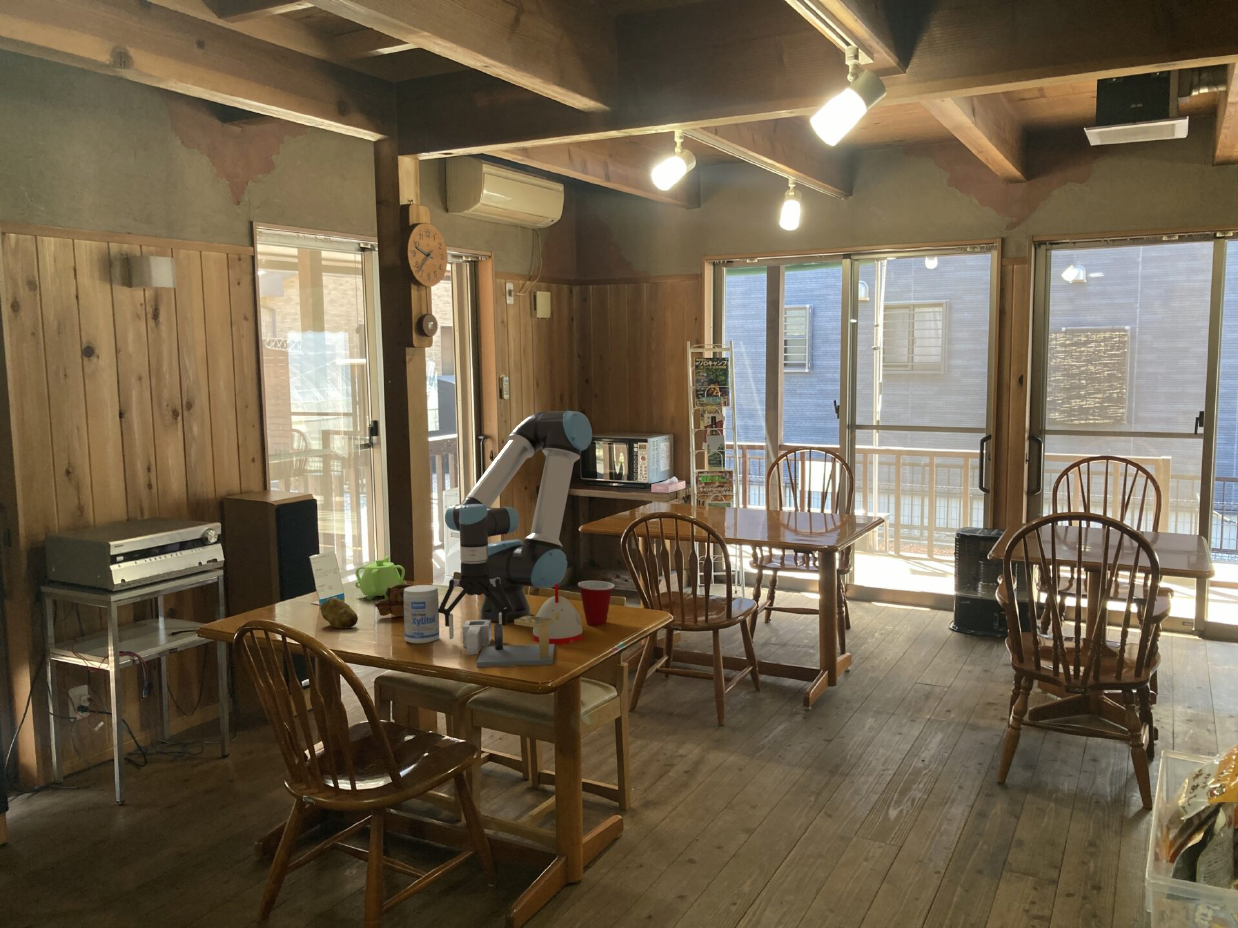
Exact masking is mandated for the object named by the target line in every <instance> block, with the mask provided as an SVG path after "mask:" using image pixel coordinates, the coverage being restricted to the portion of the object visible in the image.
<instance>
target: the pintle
mask: <svg viewBox="0 0 1238 928" xmlns="http://www.w3.org/2000/svg"><path fill="white" fill-rule="evenodd" d="M493 631H494V632H493V633H494V635H493V636H494V637H493V639H494V646H495V650H502V649H503V646H504V627H503V628H502V624H499V623H495V624H494V625H493Z"/></svg>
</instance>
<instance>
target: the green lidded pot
mask: <svg viewBox="0 0 1238 928" xmlns="http://www.w3.org/2000/svg"><path fill="white" fill-rule="evenodd" d="M389 558H390V556H389V554H388V555H387V554H386V555H385V556H384V558H383V559H381V558H379V559H375V562H373V563H370V564H366V565H361V566H359V567H357V568H356V569H355V576H356V578H357V580H358V581H356V582H355V585H354V586H355V588H356V589H360V591H361V593H362V594H363V595H364V596H367V597H366V598H365V600H366V601H367V600H370V601H371V600H374V598H375V597H377V596H381V597H383V598H384V599H388V596H387V595H386V590H387V588H388V587H390V588H391V587H393V586H395V585H397V584H408V583H407V581H406V580H404V578H405V575H406V574H405V572H406V571H405V570H406V569H405V568H404V567H403V566H402V565H399V564H397V565H395V564H394V563H393V562H391V561H390V560H389ZM389 561H390V562H389ZM361 569H362V570H363V573H362V575H360V570H361ZM398 569H400V570H401V575H400V573H399V571H398ZM384 599H383V600H384Z"/></svg>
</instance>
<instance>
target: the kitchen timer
mask: <svg viewBox="0 0 1238 928" xmlns="http://www.w3.org/2000/svg"><path fill="white" fill-rule="evenodd" d="M534 616H535V617H542V618H549V619H553V624H550V625H549V644H554V645H564V644H563V643H566V644H572V643H575V641H576V642H579V641H580V640H583V637H584V630H583V625H582V624H583V623H582V617H581V615H580V612H579V610H576V608H575V606H574V605H573V604H572V602H570V601H569V600H568V599H567V598H566V597H564V596H561V595H559V583H558V584H555V586H554V595H553V596H551V597H549V598H548V599H547V600H546V601H544V602H543V604H542V605H541V607H540V608H539V610H538V612H536V613H535V614H534ZM532 628H533V629H532V639H533V642H536V641H537V642H536V643H538V642H539V628H535V627H532Z"/></svg>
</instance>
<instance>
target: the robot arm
mask: <svg viewBox="0 0 1238 928" xmlns="http://www.w3.org/2000/svg"><path fill="white" fill-rule="evenodd" d="M592 430H593V429H592V426H591V424H590V421H589V419H588V417H587V416H586V415H585V414H584V413H582V412H580V411H572V410H566V411H564V410H562V411H561V410H559V411H558V410H554V411H553V410H551V411H550V410H541V411H537V412H534V413H533V414H531V415H529V416H527V417H526V418H525V419H524V420H522V421H521V422H520V423H519V424H517V425H516V427H515V428H514V429H513V430H512V431H511V432H510V434H509V435H507V438H506V444H505V446H504V447H503V448H502V449H501V450H500V452H499V453H498V454H497V456H496V457H495V458H494V460H493V461H492V463H491V464H490V465H489V466H488V468H487V469H486V470H485V471H484V473H483V474H482V475H481V477H480V478H479V479H478V481H477V482H476V483H475V484H474V486H473V487H472V488H471V490H470V491H469V492H468V494H467V495H466V496H465V497H464V499H463V500H462V502H461V503H460V504H453V505H451V506H449V507H448V508H447V509H446V511H445V514H444V521H445V525H446V526H447V528H448V529H450V530H452V531H458V532H459V546H460V547H459V549H460V550H459V551H460V552H459V553H460V554H459V555H460V557H459V558H460V561H461V562H460V579H455V578H454V577H452V578H451V579H449V581H448V589H447V590H446V593H445V594H444V597H443V599H442V601H441V603H440V606H439V609H438V613H439V614H442V615H444V625H445V627H448V631H449V633H448V635H449V640H453V639H454V636H455V634H454V613H451V612H452V611H453V610H454V609H455V607H456V606H457V605H458V604H459V602H460V601H461V600H462V599H463V597H465V595H466V594H467V595H468V596H481V595H484V597H483V600H482V603H481V607H480V611H479V613H480V619H481V620H491V622H494V623H496V622H497V623H498V624H502V628H503V629H504V626H506V625H507V622H514V620H515V619H518V618H521V617H523V616H526V615H529V616H531V607H530V603H529V600H528V598H527V594H526V593H525V586H526V587H533V588H536V589H551V588H555V584H558V585H559V584H560V583H561V581H562V580H563V579H564V577H565V575H566V572H567V567H568V561H567V555H566V554H565V552H564V551H562V550H563V544H562V542H561V541H560V534H561V530H562V524H563V520H564V519H563V518H564V515H565V509H566V504H567V498H568V495H569V489H570V484H571V479H572V473H573V468H574V463H576V461H578V460H579V459H580V457H581V453H582V451H585V450H586V449H588V448H589V447H590V445H591V443H592V441H593V440H592V439H593V431H592ZM539 450H541V451H542V453H543V454H544V457H545V461H544V466H543V471H542V475H541V480H540V485H539V490H538V495H537V500H536V505H535V509H534V515H533V520H532V525H531V529H530V534H529V535H527V536H525V537H524V539H523V541H522V540H521V539H509V540H500V541H495V542H491V543H488V542H489V540H488V538H490V537H494V536H500V535H501V536H503V535H507V534H511V533H514V532H516V530H517V529H518V528H519V524H520V517H519V514H518V512H517V510H516V509H515V508H513V507H511V506H501V507H492V506H493V505H494V503H495V502H496V501H497V500H498V499H497V498H499V496H500V495H501V493H502V492H503V491H504V490H505V488H506V487H507V485H508V484H509V482H511V480H512V479H513V478H514V476H515V475H516V473H517V472H518V471H519V470H520V468H521V467H522V465H523V464H524V463H525V462H526V460H527V459H529V458H532V457H533V456H534V455H535V453H537V452H538V451H539ZM458 585H459V586H460V587H461V588H462V590H461V592H460V593H459V594H458V595H457V596H456V598H454V600H453V601H452V603H451V604H450V605H449V606H448V607H447V608H446V605H447V604H448V602H449V600H450V597H451V595H452V593H453V591H454V589H455V588H456V587H457V586H458Z"/></svg>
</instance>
